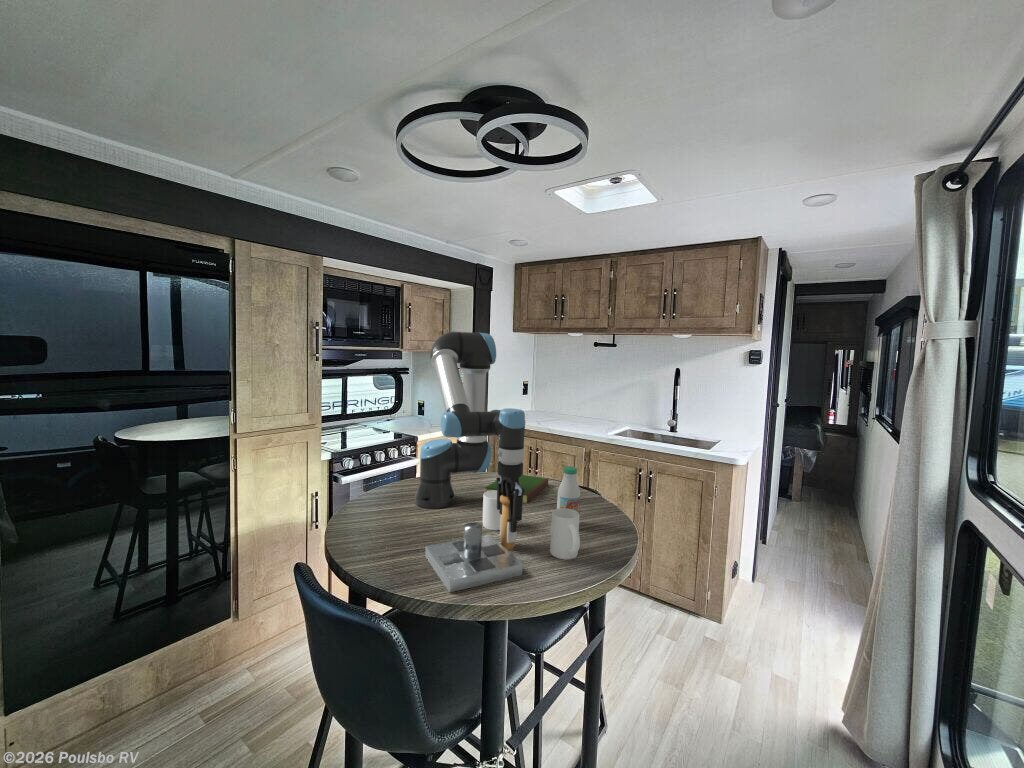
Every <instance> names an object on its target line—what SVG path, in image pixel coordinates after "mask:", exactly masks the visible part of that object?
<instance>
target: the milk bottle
mask: <svg viewBox="0 0 1024 768" xmlns="http://www.w3.org/2000/svg"><path fill="white" fill-rule="evenodd" d="M562 470H563V471H562V472H563V477H562V480H561V482H560V485H559V486H558V490H557V497H556V498H557V499H556V509H559V508H567V509H572V510H575V511H577V512H578V513H579V515H580V512H581V489H580V486H579V483H578V479H577V475H578V468H577V467H575V466H569V465H568V466H564V467H563V468H562ZM579 519H580V516H579Z"/></svg>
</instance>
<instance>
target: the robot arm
mask: <svg viewBox="0 0 1024 768" xmlns="http://www.w3.org/2000/svg"><path fill="white" fill-rule="evenodd" d="M429 356H430V357H429V358H430V363H431V366H432V367H433V368H434V369H435V372H436V376H437V381H438V384H439V389H440V394H441V397H442V401H443V407H444V410H445V412H443V413H442V414H441V417H440V429H441V435H443V436H444V437H446V438H438V439H432V440H429V441H426V442H423V444H422V445H421V446H420V454H419V459H420V462H419V464H420V465H419V469H420V470H419V483H418V486H417V489H416V493H415V495H414V503H415V505H416V506H418V507H421V508H425V509H441V508H447V507H450V506H452V505H453V504H455V502H456V494H455V490H454V488H453V484H452V475H453V474H469V473H474V474H475V473H481V472H485V471H486V470H487V469H488V468H489V466H490V464H491V462H492V461H491V460H492V446H491V442H489V441H487V439H488V438H487V437H490V436H491V437H492V436H496V437H497V436H498V445H497V446H498V451H497V456H498V457H497V460H498V462H497V474H498V476H499V477H496V480H497V510H499V513H500V514H501V516H500V530H499V537H501V530H502V503H501V502H500V496H501V495H502V496H507V498H508V500H510V505H509V520H507V522H508V524H507V543H511V542H514V543H516V542H517V529H518V528H517V527H518V522H521V521H522V518H523V506H524V505H523V503H524V502H523V495H524V488H520V487H519V477H520V476H522V475H524V463H523V462H524V460H525V459H524V455H525V433H526V432H525V431H526V430H525V428H526V413H525V411H524V410H522V409H521V408H520V409H519V408H503V409H492V410H490V411H485V407H486V406H485V399H486V382H487V381H486V379H487V373H488V372H489V371H490V370H491V365H494V364H495V363H496V359H497V347H496V342H495V340H494V338H493V336H492V335H491V334H489V333H487V332H486V333H484V332H472V331H471V332H470V331H469V332H466V331H464V332H463V331H447V332H446V333H443V334H442V335H440V336H438V338H437V339H436V340H435V341H434V342H433V344H432V347H431V350H430V355H429ZM458 364H459V366H458ZM459 369H460V370H461V371H462V373H463V377H461V373H460V370H459ZM462 378H463V379H462ZM450 438H456V442H453V441H452V440H451V439H450ZM496 480H495V481H496ZM512 500H513V501H512Z"/></svg>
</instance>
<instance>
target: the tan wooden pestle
mask: <svg viewBox="0 0 1024 768" xmlns="http://www.w3.org/2000/svg"><path fill="white" fill-rule="evenodd" d="M512 501H513V500H512ZM500 502H501V503H502V530H501V536H500V544H501V545H502V546H504V547H505V548H506V549H507V550H508V551H509V550H513V549H514V548H515V542H511V543H507V524H508V522H507V520H509V505H510V500H508V498H507V496H502V495H501V496H500Z"/></svg>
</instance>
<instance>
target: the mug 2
mask: <svg viewBox="0 0 1024 768" xmlns="http://www.w3.org/2000/svg"><path fill="white" fill-rule="evenodd" d="M579 516H580V515H579V513H578V512H577V511H575V510H572V509H567V508H559V509H557V508H555V509H554V510H552V512H551V524H550V526H549V527H550V528H549V529H550V530H549V531H550V545H549V546H550V549H549V550H550V554H551V556H553V557H554V558H557V559H561V560H572V559H575V558H577V556H578V555H579V549H580V548H581V547H580V545H581V538H580V531H579V530H580V518H579Z"/></svg>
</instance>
